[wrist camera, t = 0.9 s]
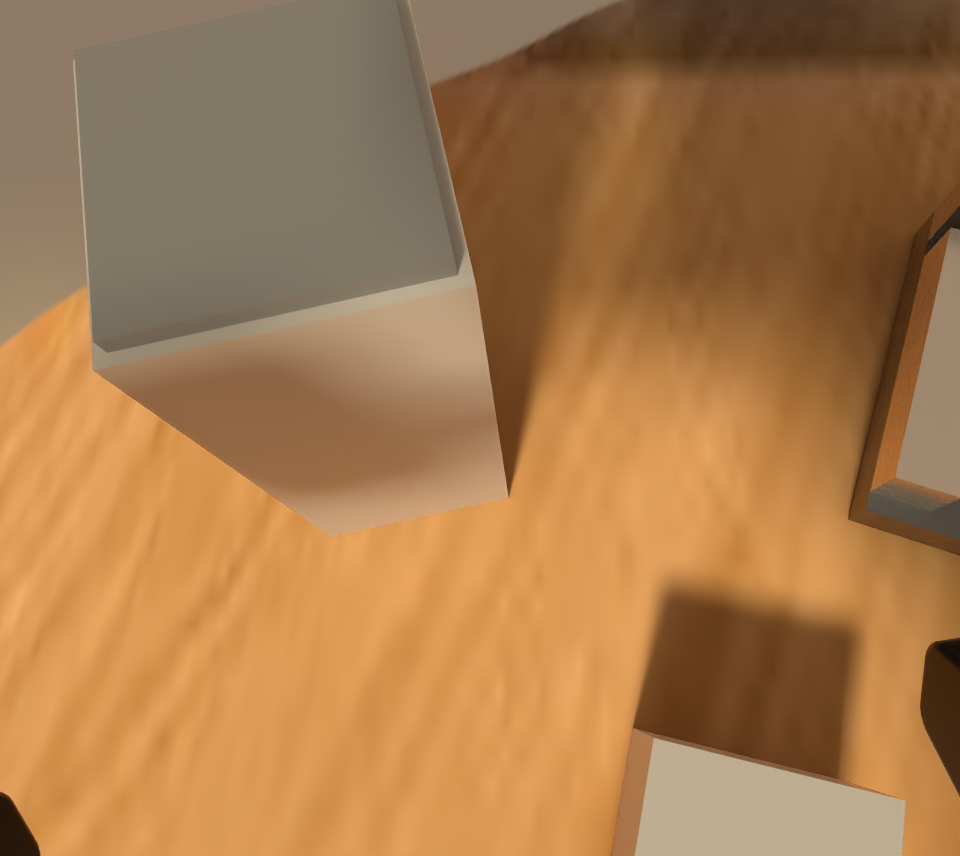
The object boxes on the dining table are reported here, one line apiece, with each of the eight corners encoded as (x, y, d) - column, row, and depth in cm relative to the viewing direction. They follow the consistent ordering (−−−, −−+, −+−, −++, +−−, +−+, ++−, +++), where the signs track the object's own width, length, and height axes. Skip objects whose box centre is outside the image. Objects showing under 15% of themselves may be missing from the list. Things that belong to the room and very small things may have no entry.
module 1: (508, 498, 22) (474, 272, 10) (331, 537, 22) (77, 359, 10) (470, 328, 24) (399, -46, 12) (304, 364, 24) (58, 28, 12)
